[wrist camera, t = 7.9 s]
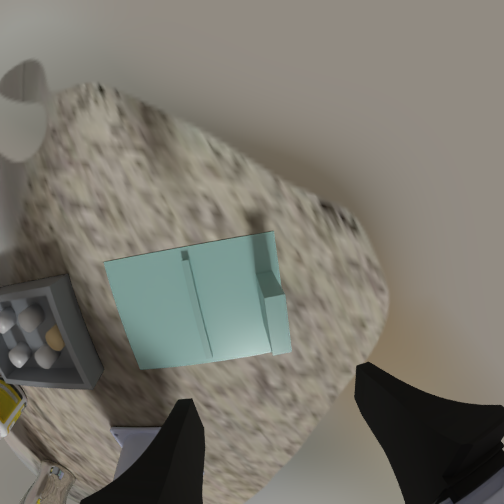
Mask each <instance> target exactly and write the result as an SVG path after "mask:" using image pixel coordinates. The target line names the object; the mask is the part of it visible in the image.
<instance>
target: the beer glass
mask: <svg viewBox="0 0 504 504" xmlns="http://www.w3.org/2000/svg"><path fill="white" fill-rule="evenodd" d="M75 481H76V479H75V477H74V475H73V474H72V473H71V472H70V471H68V470H67V469H66V468H64V467H63V466H61V465H59V464H58V463H56V462H53V461H51V460H48V459H43V460H42V461H41V465H40V470H39V474H38V476H37V478H36V480H35V481H34V483H33V484H32V485H31V487H30V488H29V489H28V491H27V492H26V493H25V494H24V496H23V498H22V499H21V501H20V503H19V504H66V500H67V496H68V493H69V491H70V489H71V488H72V486H73V485H74V483H75Z"/></svg>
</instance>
